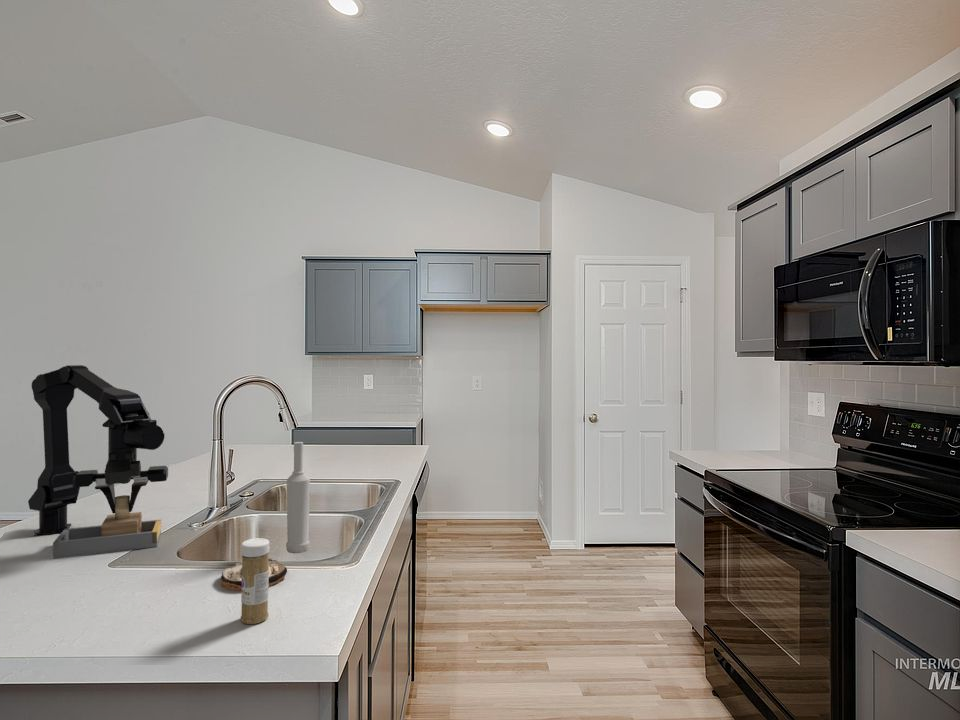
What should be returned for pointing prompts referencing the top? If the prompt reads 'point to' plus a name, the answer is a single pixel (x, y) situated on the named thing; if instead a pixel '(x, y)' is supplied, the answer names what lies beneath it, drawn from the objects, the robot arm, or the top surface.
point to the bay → (104, 540)
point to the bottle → (298, 505)
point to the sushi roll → (234, 575)
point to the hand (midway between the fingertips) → (122, 512)
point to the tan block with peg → (122, 519)
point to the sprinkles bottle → (254, 580)
